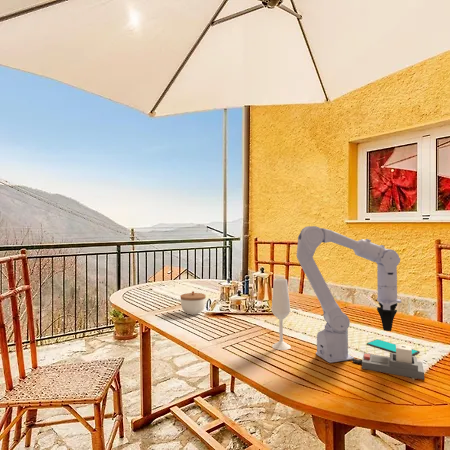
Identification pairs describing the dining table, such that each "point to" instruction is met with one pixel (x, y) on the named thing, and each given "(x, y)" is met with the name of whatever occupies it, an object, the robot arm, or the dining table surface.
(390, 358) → the power strip
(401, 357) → the block
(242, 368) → the dining table surface
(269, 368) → the dining table surface
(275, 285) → the champagne flute
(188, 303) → the lidded sugar bowl
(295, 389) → the dining table surface
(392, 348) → the smartphone
